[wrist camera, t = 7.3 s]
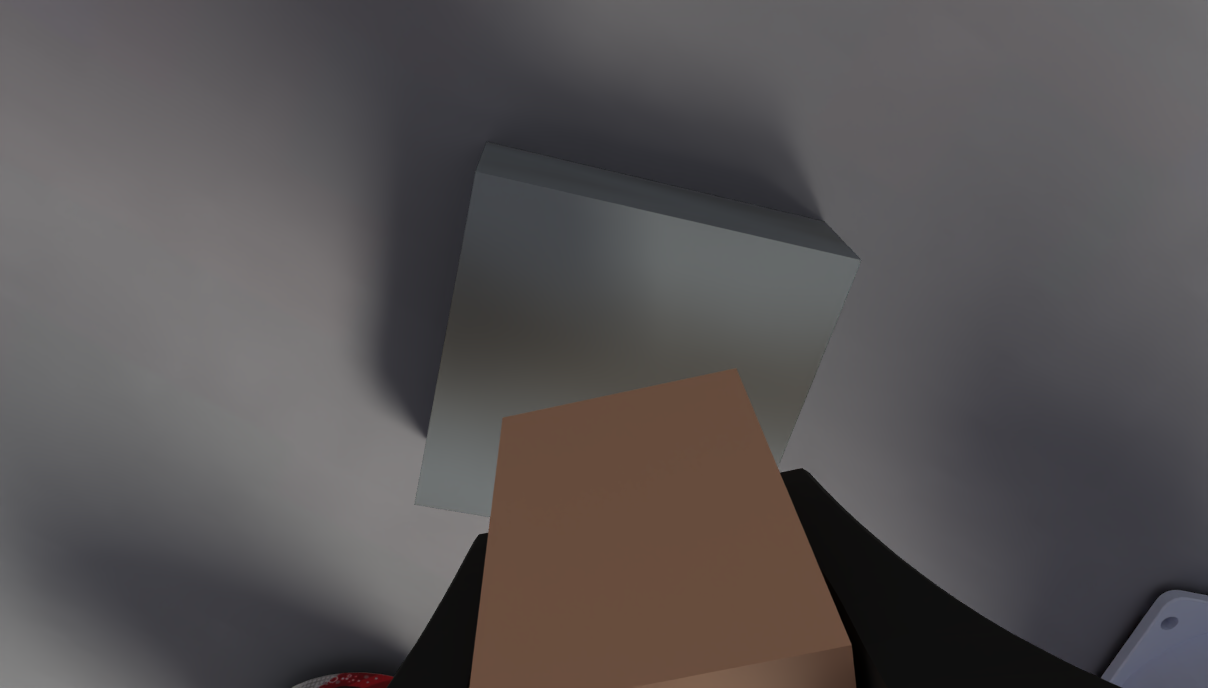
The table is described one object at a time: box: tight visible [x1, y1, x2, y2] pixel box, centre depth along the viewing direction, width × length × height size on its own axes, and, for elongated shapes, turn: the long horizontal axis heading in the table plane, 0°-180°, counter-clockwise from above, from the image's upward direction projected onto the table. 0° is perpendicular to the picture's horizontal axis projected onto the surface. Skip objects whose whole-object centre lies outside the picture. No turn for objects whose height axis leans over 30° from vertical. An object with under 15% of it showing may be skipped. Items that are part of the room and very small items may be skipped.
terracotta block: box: [469, 368, 856, 688], centre depth 12 cm, size 4×4×6 cm
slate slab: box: [414, 142, 862, 517], centre depth 19 cm, size 8×8×3 cm
